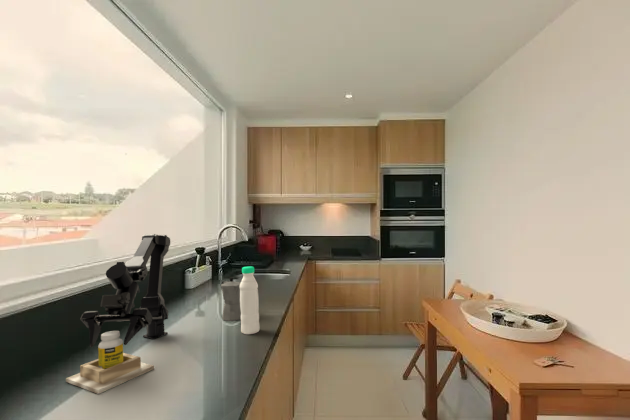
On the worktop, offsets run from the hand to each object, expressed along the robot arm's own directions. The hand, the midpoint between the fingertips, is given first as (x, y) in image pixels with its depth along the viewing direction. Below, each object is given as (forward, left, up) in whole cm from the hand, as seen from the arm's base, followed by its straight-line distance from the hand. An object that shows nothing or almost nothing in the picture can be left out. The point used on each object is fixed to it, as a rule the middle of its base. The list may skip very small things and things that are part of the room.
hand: (107, 345), depth 99 cm
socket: (-1, +1, -9) cm, 9 cm away
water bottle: (+12, +47, -9) cm, 50 cm away
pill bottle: (-1, +1, -8) cm, 8 cm away
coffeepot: (-9, +59, -9) cm, 60 cm away
